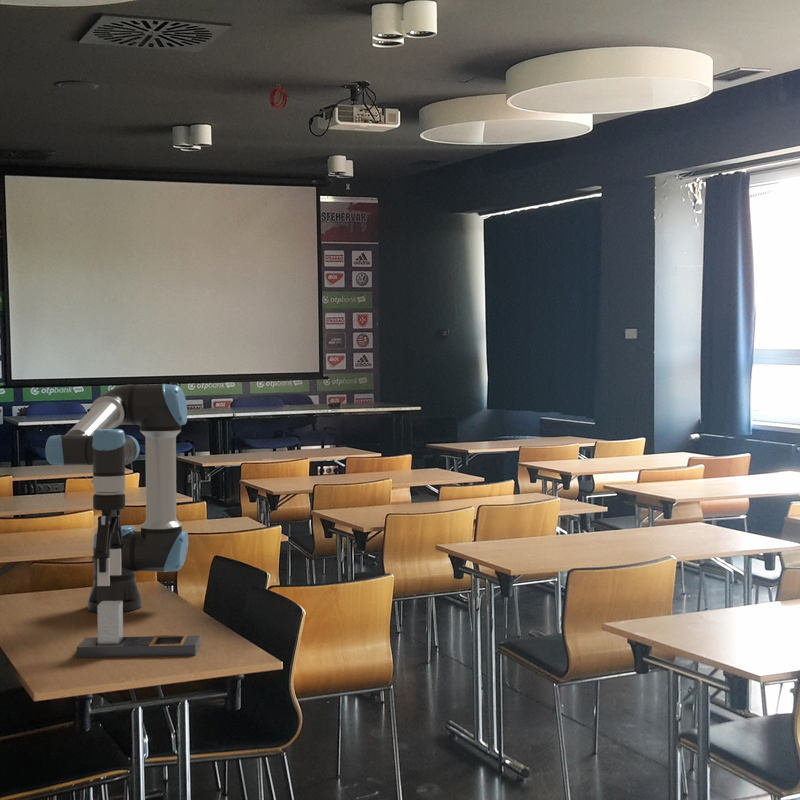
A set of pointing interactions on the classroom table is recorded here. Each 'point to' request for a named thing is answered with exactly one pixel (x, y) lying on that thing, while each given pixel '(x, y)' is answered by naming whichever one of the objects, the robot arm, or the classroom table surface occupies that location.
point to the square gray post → (110, 623)
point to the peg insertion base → (141, 646)
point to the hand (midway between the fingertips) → (109, 580)
